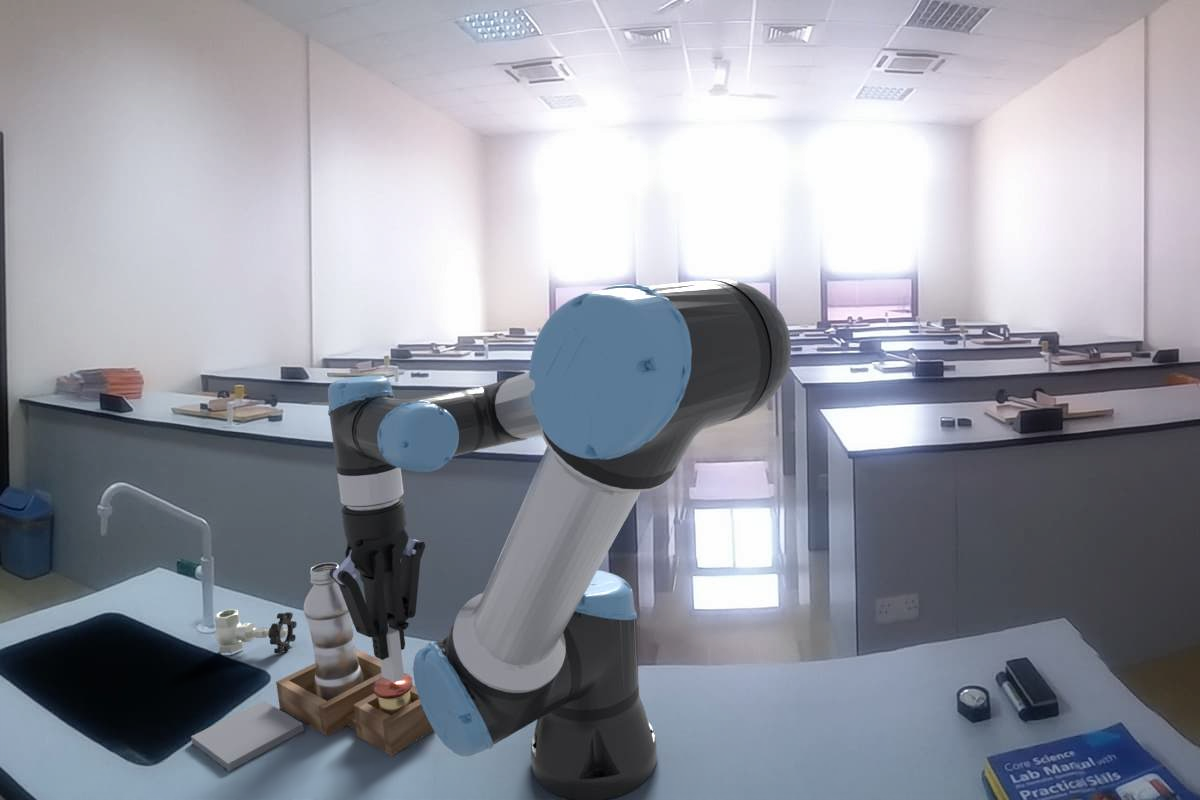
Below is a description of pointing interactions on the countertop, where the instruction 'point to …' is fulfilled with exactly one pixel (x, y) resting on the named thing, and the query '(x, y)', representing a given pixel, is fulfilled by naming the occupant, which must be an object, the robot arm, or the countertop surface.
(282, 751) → the countertop surface
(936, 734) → the countertop surface
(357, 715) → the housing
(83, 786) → the countertop surface
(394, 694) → the copper-capped cylinder
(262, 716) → the pad
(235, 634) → the valve
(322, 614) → the plastic bottle
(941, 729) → the countertop surface
